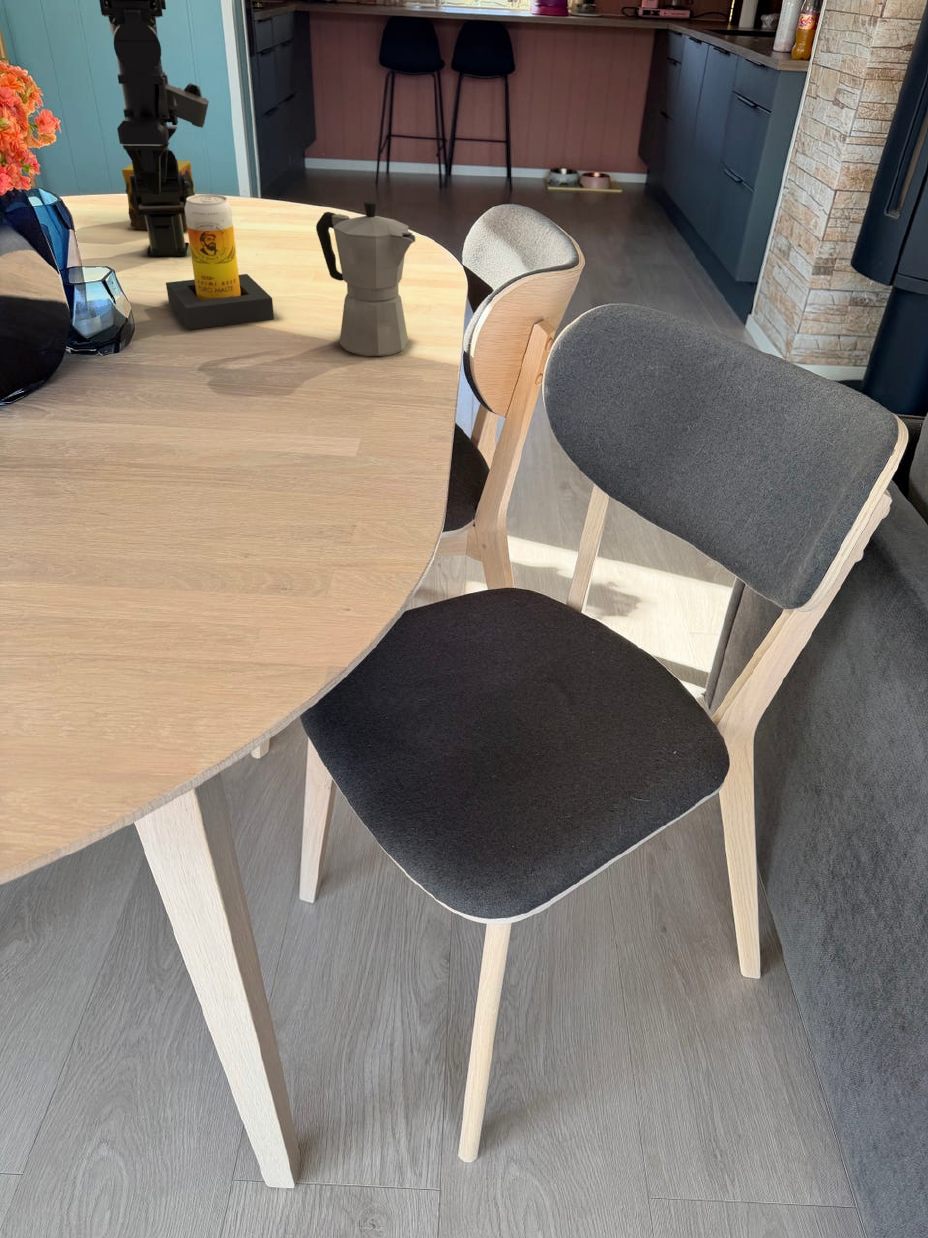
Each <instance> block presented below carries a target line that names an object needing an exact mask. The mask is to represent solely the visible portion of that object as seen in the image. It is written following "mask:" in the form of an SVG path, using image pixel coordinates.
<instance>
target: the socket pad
mask: <svg viewBox="0 0 928 1238" xmlns="http://www.w3.org/2000/svg"><path fill="white" fill-rule="evenodd" d="M239 283H240V292H241V296H234V297H226V298H217V299H208V300H199V299H198V298H197V293H196V286H195V279H185V280H177V281H168V282H165V287H166V293H167V300H168V304H169V306H171V308H172V309H173V311H174V312H175V313H176V314H177V316H178V317H179V318H180V320H181V321H182V322H183V323H184V325H185V326H186V327H187V328H188V330H189V331H191V330H198V329H207V328H215V327H222V326H231V325H237V324H246V323H254V322H260V321H261V322H262V321H269V320H274V319H275V314H274V304H273V297H272V296H271V295H270V294H269V293H267V291H266V290H264V288H263V287H261V285H259V284H258V283H257V282H256V281H255V280H254V279H253V277H251V276H250V275H249V274H248V273H244V274H239Z"/></svg>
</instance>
